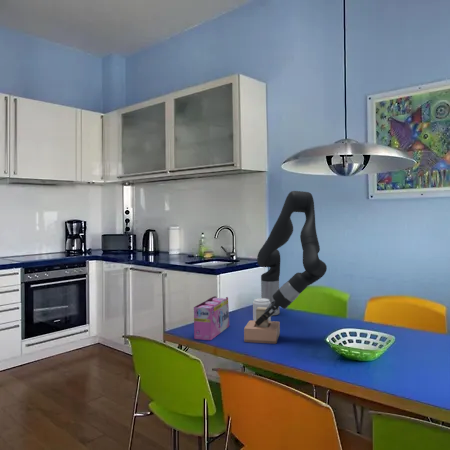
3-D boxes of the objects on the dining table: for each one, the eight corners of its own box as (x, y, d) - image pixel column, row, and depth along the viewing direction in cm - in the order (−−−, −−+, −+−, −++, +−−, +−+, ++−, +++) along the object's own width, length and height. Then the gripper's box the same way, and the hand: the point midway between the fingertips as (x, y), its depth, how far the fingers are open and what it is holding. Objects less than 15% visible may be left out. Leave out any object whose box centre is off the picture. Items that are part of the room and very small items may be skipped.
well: (249, 332, 185) (249, 320, 185) (279, 334, 182) (279, 321, 182) (244, 341, 173) (244, 328, 172) (276, 343, 170) (276, 330, 169)
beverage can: (264, 328, 191) (264, 302, 190) (249, 326, 196) (249, 300, 195) (274, 324, 197) (273, 299, 197) (259, 322, 202) (259, 297, 202)
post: (258, 330, 180) (257, 307, 180) (268, 331, 179) (268, 307, 179) (256, 333, 176) (256, 309, 175) (267, 334, 175) (266, 310, 174)
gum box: (214, 324, 200) (214, 295, 200) (230, 325, 198) (230, 296, 197) (193, 339, 178) (193, 306, 178) (211, 340, 175) (210, 308, 175)
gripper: (281, 284, 182) (254, 311, 185) (278, 291, 168) (248, 320, 171) (294, 297, 181) (266, 324, 184) (291, 305, 167) (261, 334, 170)
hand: (257, 322), depth 178 cm, fingers closed on post, 4 cm apart
